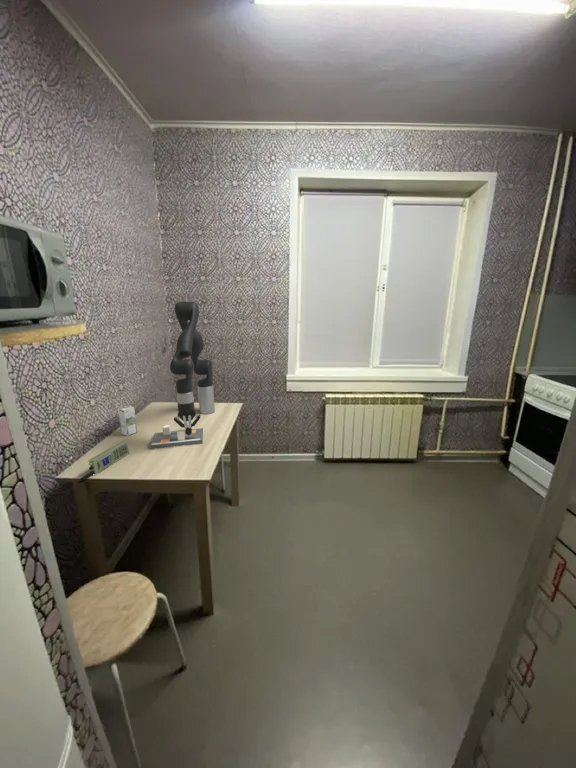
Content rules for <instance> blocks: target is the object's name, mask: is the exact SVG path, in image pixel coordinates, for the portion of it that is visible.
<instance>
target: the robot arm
mask: <svg viewBox="0 0 576 768" xmlns="http://www.w3.org/2000/svg"><path fill="white" fill-rule="evenodd" d="M174 312H175V316H176V319H177V322H178V324H179V326H180V328H181V330H182V332H181V333H180V334H179V335H178V338H177V339H176V340H177V342H176V347H175V348H176V350H175V353H174V355H173V358H172V359H171V362H170V364H169V369H170V372H171V373H172V374H173V376H174V375H176V376H179V375H182V376H183V375H185V377H183V378H180V379H178V380H177V381H176V382H175V387H176V402H177V403H176V404H177V411H178V413H177V415H176V416H174V418H173V421H174V422H175V423H176V424H177V425H178V426H179V427H180V428H181V429H185V431H186V434H187V435H191V433H192V429H193V428H192V427H195V426H196V425H197V423H198V421H200V419H201V414H202V415H208V414H209V415H210V414H213V413H215V411H216V408H215V396H214V395H215V394H214V393H215V392H214V382H213V380H214V379H213V363H212V360H211V359H199V356H200V355H201V353H202V351H203V350H204V347H205V342H204V339H203V336H202V334H201V333H200V332H199V330H197V325H198V322H199V317H200V309H199V305H198V303H197V302H195V301H177V302H176V303H175V305H174ZM189 357H190V359H187V358H189ZM194 374H195V375H197V376H205V375H206V377H204V378H201V379H199V380H198V381H197V385H196V386H197V394H198V395H197V396H198V408H199V414H198V413H197V411H196V409H195V399H194V392H193V375H194ZM194 418H195V419H194ZM182 421H183V422H182ZM192 421H193V422H192Z"/></svg>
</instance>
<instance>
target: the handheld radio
mask: <svg viewBox="0 0 576 768" xmlns="http://www.w3.org/2000/svg"><path fill="white" fill-rule="evenodd" d="M128 443H129V442H128V440H127V439H123V440H121V441H119V442H118V443H116V444H115V445H112V446H111V447H108V448H107V449H105V450H103V451H102V452H100V453H98V454H97V455H95V456H94V457H92V458H90V459H88V460H87V462H88V465H89V467H88V469H89V470H90V472H88V473H87V474H85V475H84V476H82V477H80V479H79V480H80V481H81V482H84V481H85V480H86V479H88V478H89V477H92V476H91V475H93V474H97V473H98V474H99V472H100V473H101V472H103V471H105V470H106V469H107V468H109V467H110V465H111V466H112V465H114V464H115V463H116V462H119V460H121V459H123V458H124V457H126V456H127V454H128V455H129V454H130V449H129V444H128ZM113 463H114V464H113ZM102 470H103V471H102ZM98 474H97V475H98Z"/></svg>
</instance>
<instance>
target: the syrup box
mask: <svg viewBox="0 0 576 768" xmlns="http://www.w3.org/2000/svg"><path fill="white" fill-rule="evenodd" d="M135 411H136V410H135V407H134V406H131V405H125V406H122V407H118V408H117V413H118V422H119V428H120V434H121V435H124V436H127V437H128V436H132V435H134V434H136V433H138V428H137V419H136V412H135Z"/></svg>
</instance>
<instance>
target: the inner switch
mask: <svg viewBox="0 0 576 768" xmlns="http://www.w3.org/2000/svg"><path fill="white" fill-rule="evenodd" d="M171 431H172V429H171V424H167V425H166V424H165V425H163V426H162V432H163V435H170V433H171Z"/></svg>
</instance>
